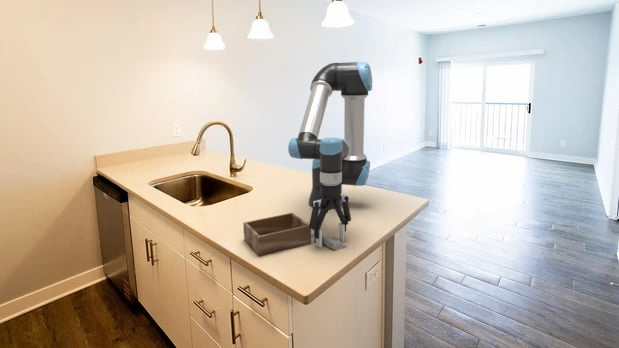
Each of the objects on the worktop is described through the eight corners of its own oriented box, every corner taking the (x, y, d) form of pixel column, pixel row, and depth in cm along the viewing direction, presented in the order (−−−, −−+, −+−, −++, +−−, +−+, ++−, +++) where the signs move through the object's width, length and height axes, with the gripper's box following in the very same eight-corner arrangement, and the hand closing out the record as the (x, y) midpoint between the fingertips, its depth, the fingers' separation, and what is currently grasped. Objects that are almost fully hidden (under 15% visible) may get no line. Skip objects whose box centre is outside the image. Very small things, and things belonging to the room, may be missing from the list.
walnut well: (244, 240, 129) (243, 222, 128) (292, 229, 139) (292, 212, 137) (259, 256, 117) (258, 237, 115) (311, 243, 126) (311, 225, 124)
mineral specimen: (322, 239, 132) (322, 228, 131) (347, 246, 124) (347, 235, 123) (310, 244, 127) (310, 232, 127) (336, 252, 119) (336, 240, 118)
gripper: (308, 190, 112) (309, 254, 117) (362, 181, 122) (360, 240, 128) (298, 184, 118) (299, 245, 124) (350, 176, 129) (348, 233, 134)
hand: (330, 243), depth 126 cm, fingers open, 9 cm apart
